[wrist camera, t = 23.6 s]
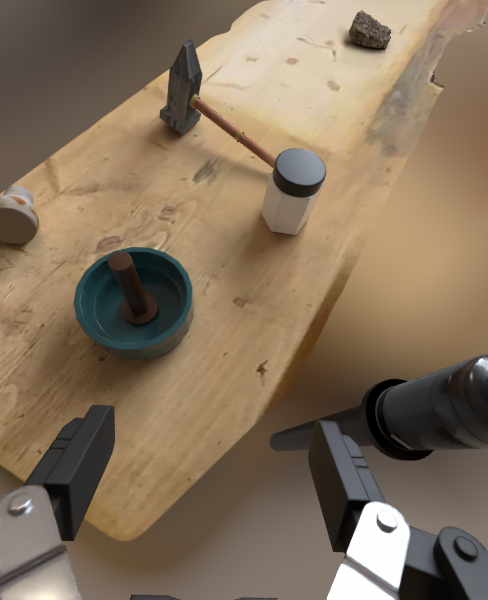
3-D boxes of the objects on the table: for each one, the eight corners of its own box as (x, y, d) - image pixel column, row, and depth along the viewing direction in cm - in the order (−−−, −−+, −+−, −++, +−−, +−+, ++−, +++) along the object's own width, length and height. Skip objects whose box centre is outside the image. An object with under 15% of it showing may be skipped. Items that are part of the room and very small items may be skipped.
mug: (46, 194, 58) (34, 175, 49) (45, 249, 58) (34, 240, 49) (-5, 188, 55) (-28, 167, 46) (-6, 246, 55) (-28, 236, 46)
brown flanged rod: (154, 291, 51) (137, 237, 39) (162, 320, 49) (148, 274, 37) (120, 300, 50) (91, 247, 37) (127, 330, 48) (100, 286, 36)
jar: (314, 229, 61) (337, 180, 50) (275, 241, 59) (291, 193, 48) (292, 194, 64) (310, 141, 53) (254, 204, 62) (265, 151, 51)
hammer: (311, 155, 55) (164, 41, 53) (275, 208, 69) (159, 119, 67) (326, 136, 57) (186, 26, 56) (288, 191, 72) (176, 105, 70)
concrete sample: (341, 41, 91) (349, 19, 86) (354, 26, 95) (362, 4, 90) (379, 57, 89) (389, 35, 84) (391, 41, 93) (400, 20, 89)
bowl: (178, 258, 55) (175, 236, 50) (206, 342, 49) (206, 328, 44) (80, 282, 51) (66, 262, 46) (99, 376, 46) (84, 366, 40)
